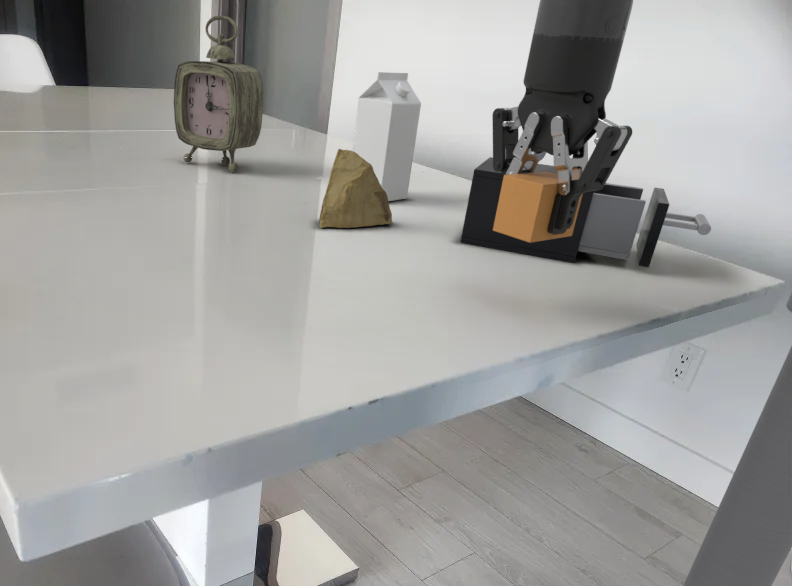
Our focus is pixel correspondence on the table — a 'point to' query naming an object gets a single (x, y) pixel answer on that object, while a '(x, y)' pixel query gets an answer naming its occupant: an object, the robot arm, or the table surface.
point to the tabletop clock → (218, 101)
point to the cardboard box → (528, 206)
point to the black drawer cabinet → (482, 234)
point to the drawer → (630, 222)
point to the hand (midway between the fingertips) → (533, 225)
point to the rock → (354, 195)
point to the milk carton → (388, 131)
